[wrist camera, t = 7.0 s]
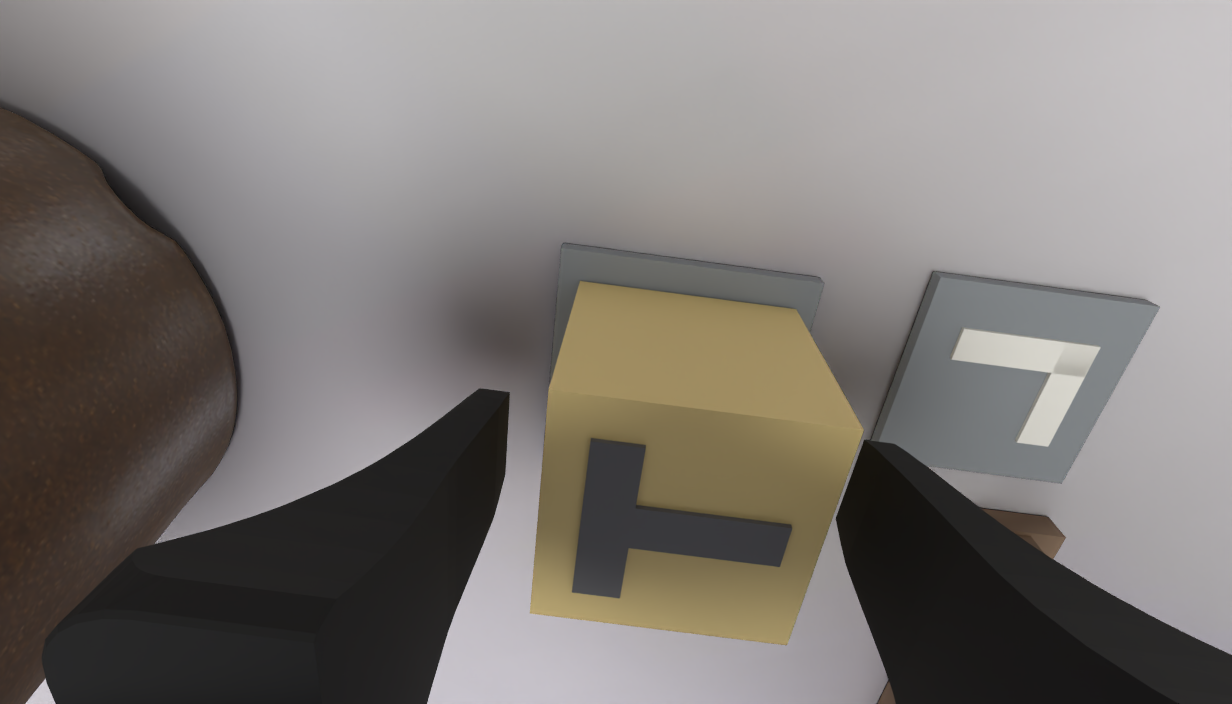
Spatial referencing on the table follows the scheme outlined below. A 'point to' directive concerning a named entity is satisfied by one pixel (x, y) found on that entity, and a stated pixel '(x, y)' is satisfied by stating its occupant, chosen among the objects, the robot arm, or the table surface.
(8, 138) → the plant pot
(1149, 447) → the table surface
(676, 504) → the letter cube
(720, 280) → the mat
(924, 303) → the mat
